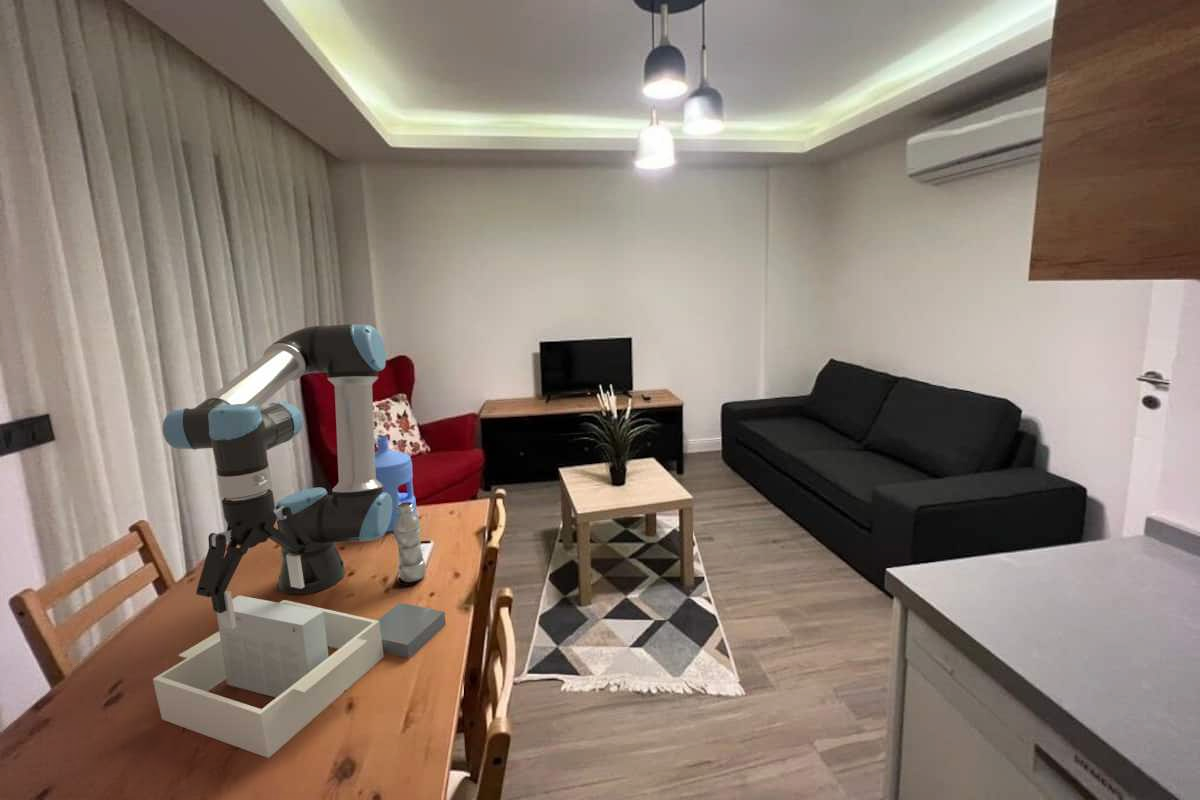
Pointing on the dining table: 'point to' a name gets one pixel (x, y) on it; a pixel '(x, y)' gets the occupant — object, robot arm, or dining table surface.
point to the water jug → (394, 476)
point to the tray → (286, 714)
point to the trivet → (409, 628)
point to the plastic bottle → (409, 543)
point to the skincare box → (271, 645)
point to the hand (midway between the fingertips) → (265, 605)
